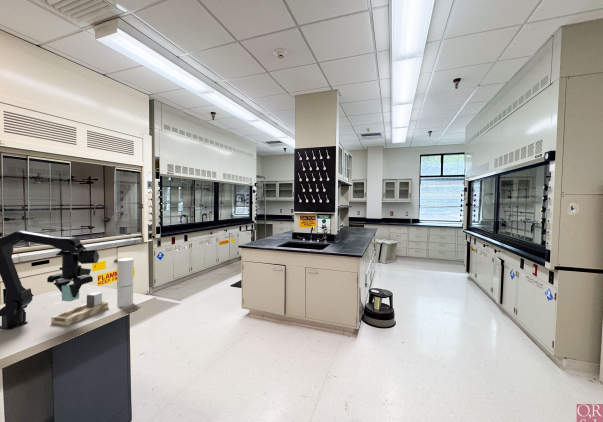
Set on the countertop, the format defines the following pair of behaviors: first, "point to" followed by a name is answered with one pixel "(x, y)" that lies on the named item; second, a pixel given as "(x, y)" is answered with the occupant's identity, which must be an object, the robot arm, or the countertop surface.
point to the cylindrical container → (125, 282)
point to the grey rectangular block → (94, 299)
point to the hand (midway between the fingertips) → (70, 296)
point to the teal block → (68, 293)
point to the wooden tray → (77, 314)
